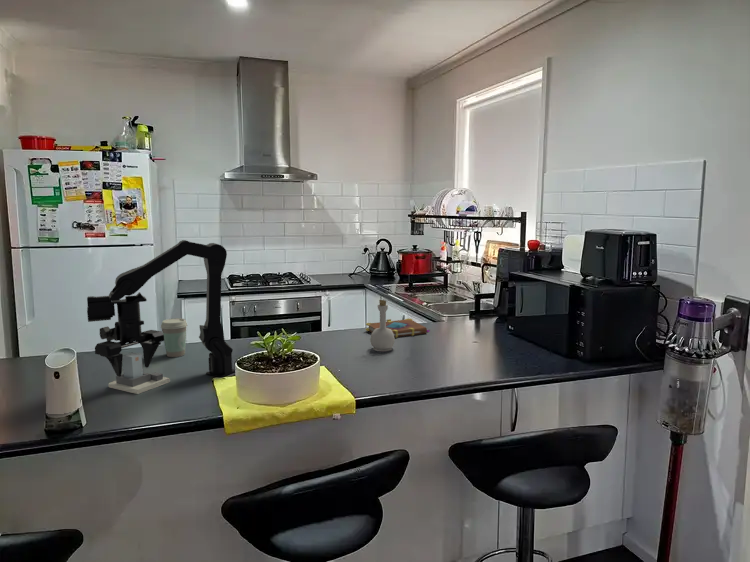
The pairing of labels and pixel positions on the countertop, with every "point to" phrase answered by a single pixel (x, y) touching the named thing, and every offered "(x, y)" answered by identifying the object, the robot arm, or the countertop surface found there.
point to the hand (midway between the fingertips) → (133, 371)
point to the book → (400, 327)
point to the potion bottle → (382, 332)
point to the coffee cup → (174, 336)
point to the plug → (132, 365)
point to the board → (139, 382)
